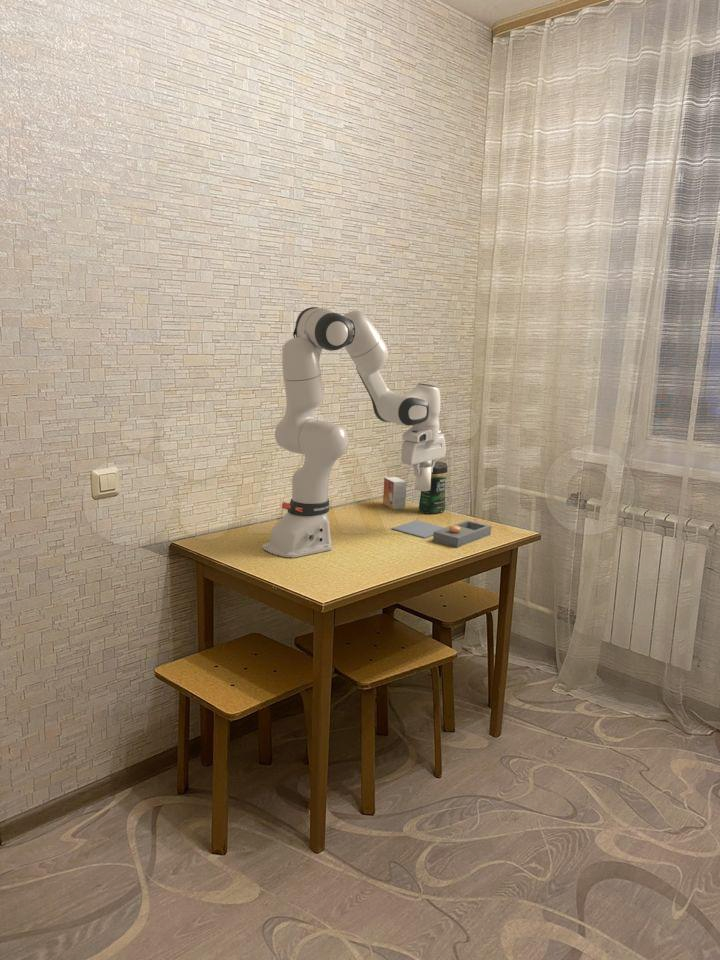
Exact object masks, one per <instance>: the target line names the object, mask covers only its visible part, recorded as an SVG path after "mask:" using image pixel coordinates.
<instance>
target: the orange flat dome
mask: <svg viewBox="0 0 720 960" xmlns="http://www.w3.org/2000/svg"><path fill="white" fill-rule="evenodd" d="M452 525H453V526H452ZM452 525H449V526H448V527H449V532H452V533H459V532H460V529H461V527H460V526H454V525H455V524H452Z"/></svg>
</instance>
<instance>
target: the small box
mask: <svg viewBox="0 0 720 960" xmlns="http://www.w3.org/2000/svg"><path fill="white" fill-rule="evenodd" d="M383 478H384V479H383V494H382V495H383V496H382V497H383V498H382V505H384V506H386V507H388V508H389V509H391V510H401V509H403V510H404V509H405V508H406V504H407V503H406V499H407V486H408V485H407V482H408V481H407V480H403V479H402V478H400V477H398V476H391V477H390V476H388V477H387V476H386V477H383Z"/></svg>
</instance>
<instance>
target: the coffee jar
mask: <svg viewBox="0 0 720 960" xmlns="http://www.w3.org/2000/svg"><path fill="white" fill-rule="evenodd" d="M448 468H449V467H448V464H447V462H444V461H443V462H442V461H440V460H439V461H435V465H434V467H433V472H432V473H431V487H430V490H429V491H420V497H419V504H418V510H419V511H420V512H422V513H423V514H430V515H432V514H433V515H434V513H435V514H439V512H440V513H442V512H441V511H443V512H444V511H446V480H447V477H448Z"/></svg>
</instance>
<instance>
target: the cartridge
mask: <svg viewBox="0 0 720 960" xmlns="http://www.w3.org/2000/svg"><path fill="white" fill-rule="evenodd" d="M431 467H432V460H430V461H425V462H423V463H420V466H419V469H420V471H421V476H415V490H416V491H418V492H421V491H429V490H430V487H431Z"/></svg>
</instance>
